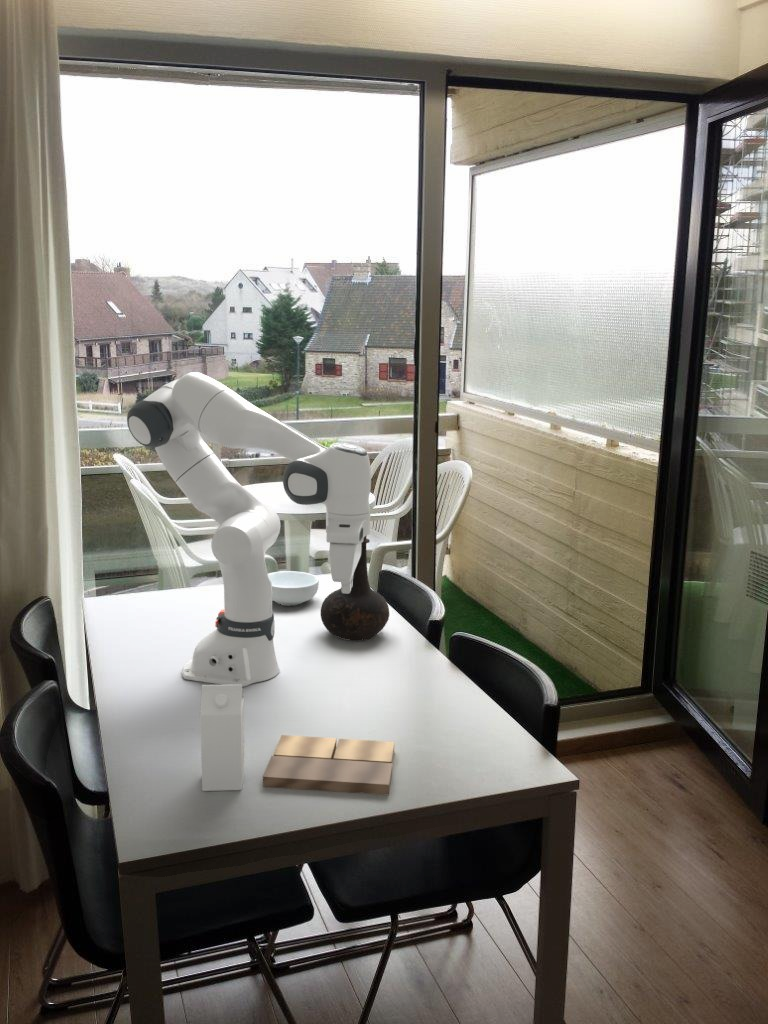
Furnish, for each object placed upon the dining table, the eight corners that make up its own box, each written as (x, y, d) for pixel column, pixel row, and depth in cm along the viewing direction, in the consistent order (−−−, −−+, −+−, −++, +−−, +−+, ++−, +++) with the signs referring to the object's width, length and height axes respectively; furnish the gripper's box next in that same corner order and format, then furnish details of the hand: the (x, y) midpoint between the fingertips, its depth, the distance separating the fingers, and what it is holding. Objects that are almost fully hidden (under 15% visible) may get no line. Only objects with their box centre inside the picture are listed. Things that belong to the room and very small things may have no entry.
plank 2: (333, 767, 177) (333, 758, 176) (338, 747, 185) (339, 738, 184) (391, 771, 176) (391, 761, 176) (394, 751, 184) (394, 741, 183)
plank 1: (273, 764, 178) (273, 754, 177) (281, 744, 185) (281, 734, 185) (330, 767, 177) (330, 758, 176) (336, 747, 185) (336, 738, 184)
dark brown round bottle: (306, 635, 245) (307, 532, 239) (352, 619, 259) (353, 521, 253) (357, 653, 234) (359, 545, 228) (402, 634, 248) (405, 532, 241)
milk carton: (206, 772, 174) (204, 677, 170) (244, 771, 175) (243, 676, 171) (202, 791, 167) (199, 693, 163) (242, 790, 168) (240, 692, 164)
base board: (262, 786, 169) (262, 776, 169) (271, 765, 177) (271, 755, 177) (388, 794, 168) (389, 784, 167) (392, 772, 175) (392, 763, 175)
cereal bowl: (294, 615, 261) (294, 590, 260) (249, 603, 270) (248, 580, 269) (330, 599, 275) (330, 576, 274) (286, 589, 284) (286, 567, 282)
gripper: (339, 512, 197) (338, 575, 200) (325, 536, 177) (324, 605, 180) (368, 513, 196) (367, 576, 199) (358, 537, 176) (356, 607, 179)
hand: (347, 590), depth 189 cm, fingers closed
